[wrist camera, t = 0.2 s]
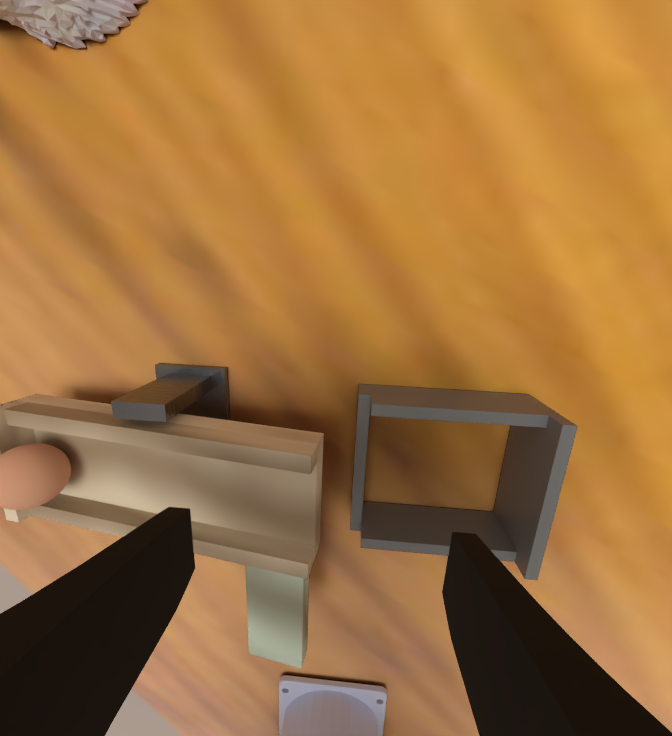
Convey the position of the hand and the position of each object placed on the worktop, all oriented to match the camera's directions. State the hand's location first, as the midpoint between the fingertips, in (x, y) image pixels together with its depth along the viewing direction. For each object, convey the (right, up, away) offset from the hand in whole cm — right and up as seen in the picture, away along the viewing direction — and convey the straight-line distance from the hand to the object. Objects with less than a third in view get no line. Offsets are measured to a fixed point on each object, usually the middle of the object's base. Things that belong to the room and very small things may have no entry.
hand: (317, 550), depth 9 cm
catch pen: (+6, 0, +10) cm, 12 cm away
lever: (-8, -4, +9) cm, 12 cm away
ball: (-14, 0, +6) cm, 15 cm away
